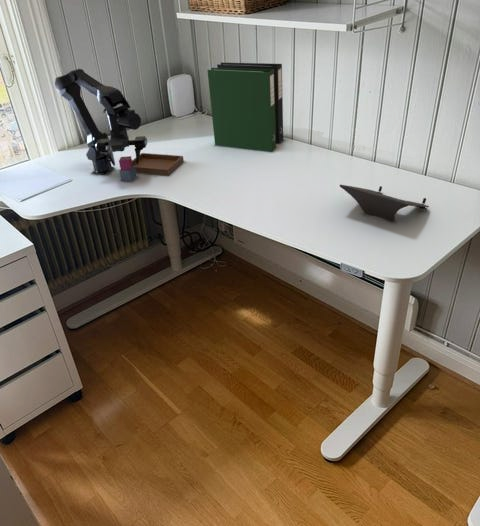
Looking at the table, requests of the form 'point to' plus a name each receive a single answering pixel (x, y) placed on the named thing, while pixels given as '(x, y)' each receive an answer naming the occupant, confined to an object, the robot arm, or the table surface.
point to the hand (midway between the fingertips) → (126, 164)
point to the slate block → (128, 174)
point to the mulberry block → (126, 163)
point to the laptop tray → (379, 202)
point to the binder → (247, 105)
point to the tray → (157, 163)
